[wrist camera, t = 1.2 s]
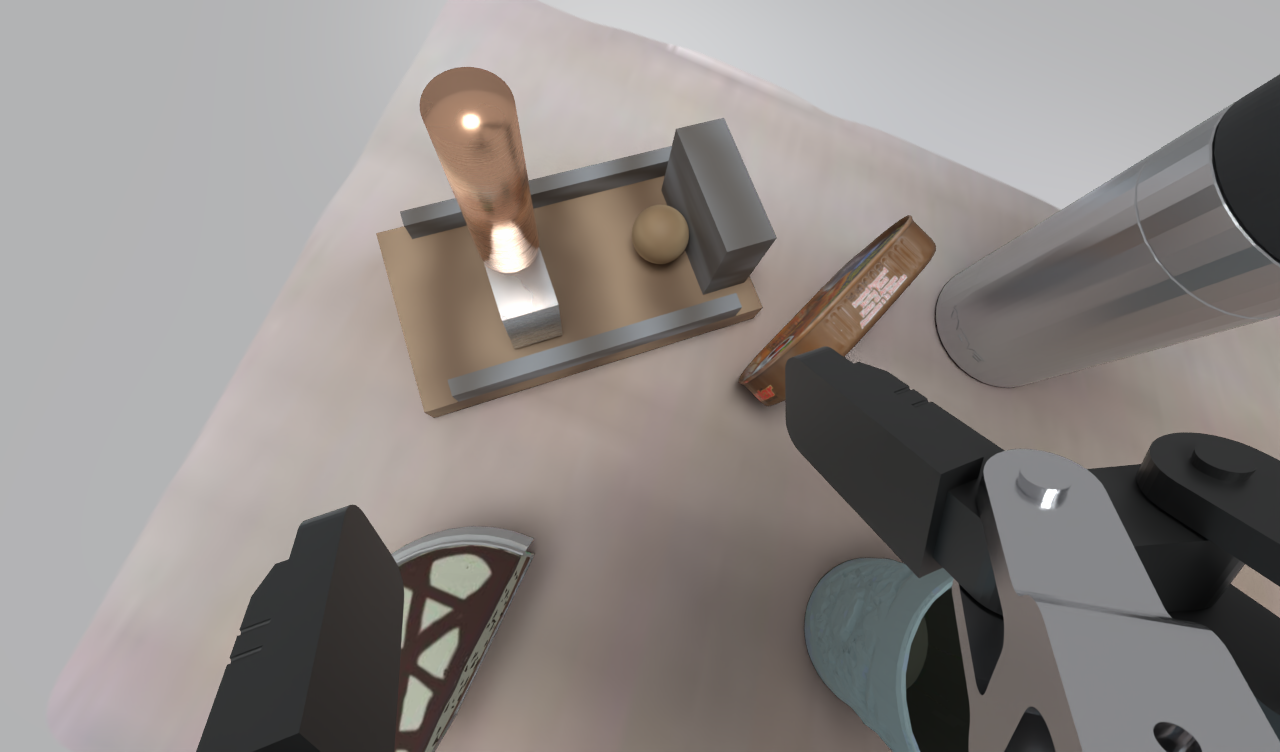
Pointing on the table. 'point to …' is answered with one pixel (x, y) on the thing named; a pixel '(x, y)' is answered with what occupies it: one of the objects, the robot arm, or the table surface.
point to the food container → (450, 622)
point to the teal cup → (892, 652)
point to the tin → (843, 306)
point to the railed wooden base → (582, 271)
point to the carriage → (493, 194)
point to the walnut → (660, 234)
